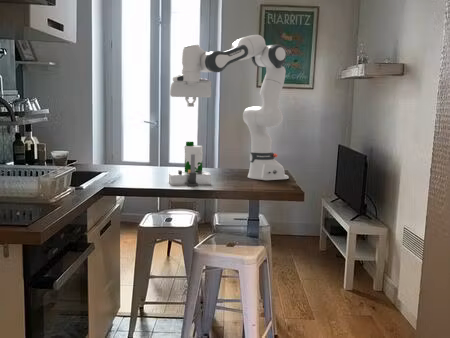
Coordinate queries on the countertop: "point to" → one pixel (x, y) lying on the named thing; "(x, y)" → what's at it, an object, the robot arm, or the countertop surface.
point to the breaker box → (183, 178)
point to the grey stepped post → (192, 173)
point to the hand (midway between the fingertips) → (190, 106)
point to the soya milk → (198, 152)
